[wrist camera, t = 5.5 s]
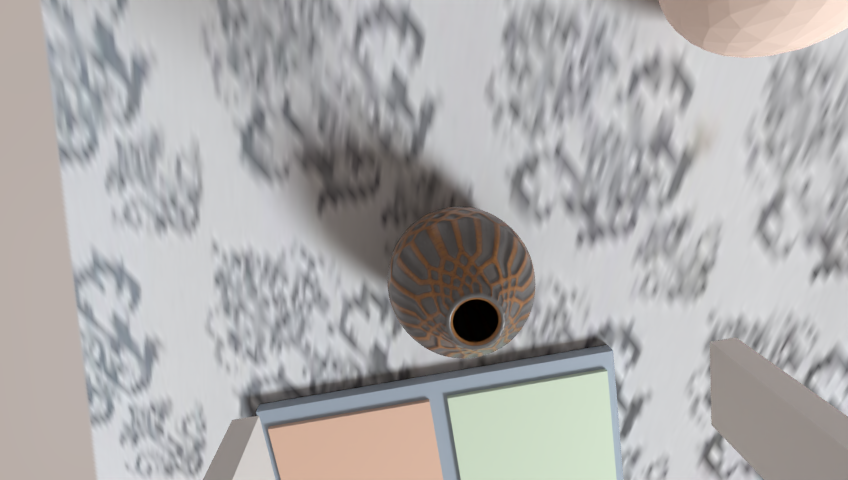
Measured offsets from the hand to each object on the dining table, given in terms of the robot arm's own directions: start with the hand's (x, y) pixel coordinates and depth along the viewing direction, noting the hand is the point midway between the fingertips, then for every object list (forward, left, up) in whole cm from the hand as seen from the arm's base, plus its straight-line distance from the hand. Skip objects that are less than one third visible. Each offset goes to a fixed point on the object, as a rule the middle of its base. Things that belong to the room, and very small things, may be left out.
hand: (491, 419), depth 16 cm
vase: (0, 0, -15) cm, 15 cm away
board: (+11, -2, -15) cm, 19 cm away
